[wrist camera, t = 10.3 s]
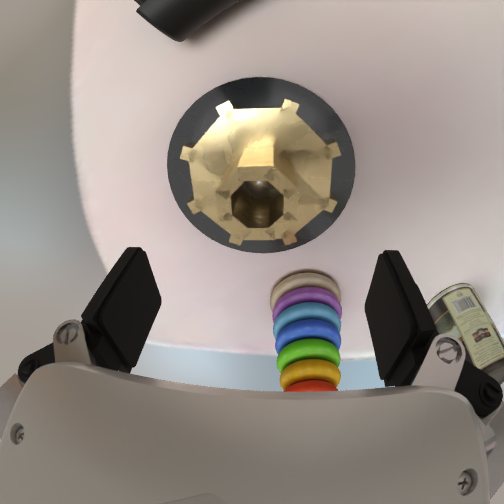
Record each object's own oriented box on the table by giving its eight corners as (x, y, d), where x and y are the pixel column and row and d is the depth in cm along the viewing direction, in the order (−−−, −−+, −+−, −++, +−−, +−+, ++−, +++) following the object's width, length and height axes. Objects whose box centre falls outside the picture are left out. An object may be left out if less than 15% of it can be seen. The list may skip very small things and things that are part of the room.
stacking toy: (288, 259, 28) (293, 446, 13) (351, 281, 29) (389, 444, 14) (260, 308, 33) (248, 464, 17) (318, 324, 34) (330, 468, 18)
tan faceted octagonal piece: (338, 100, 18) (364, 107, 13) (329, 236, 25) (343, 282, 20) (179, 105, 19) (145, 115, 14) (198, 237, 26) (179, 281, 21)
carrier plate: (355, 81, 18) (369, 82, 15) (342, 246, 27) (350, 268, 24) (161, 88, 19) (143, 91, 16) (186, 246, 28) (176, 268, 25)
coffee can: (428, 341, 36) (452, 415, 24) (410, 311, 32) (443, 401, 20) (478, 307, 31) (513, 377, 20) (470, 270, 27) (519, 352, 16)
